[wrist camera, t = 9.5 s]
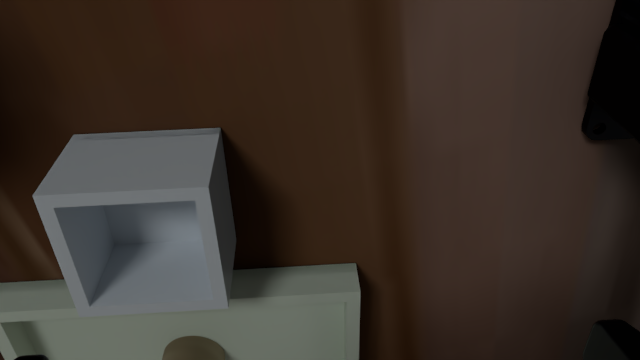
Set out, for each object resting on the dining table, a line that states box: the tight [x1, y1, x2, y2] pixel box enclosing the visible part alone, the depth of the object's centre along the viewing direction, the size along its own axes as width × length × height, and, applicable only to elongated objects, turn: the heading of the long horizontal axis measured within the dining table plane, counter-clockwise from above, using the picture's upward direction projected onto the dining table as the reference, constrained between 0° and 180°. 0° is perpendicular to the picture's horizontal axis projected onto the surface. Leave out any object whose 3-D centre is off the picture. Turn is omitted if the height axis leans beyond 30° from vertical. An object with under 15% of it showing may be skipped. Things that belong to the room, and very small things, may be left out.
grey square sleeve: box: [33, 128, 236, 317], centre depth 20 cm, size 6×6×4 cm
